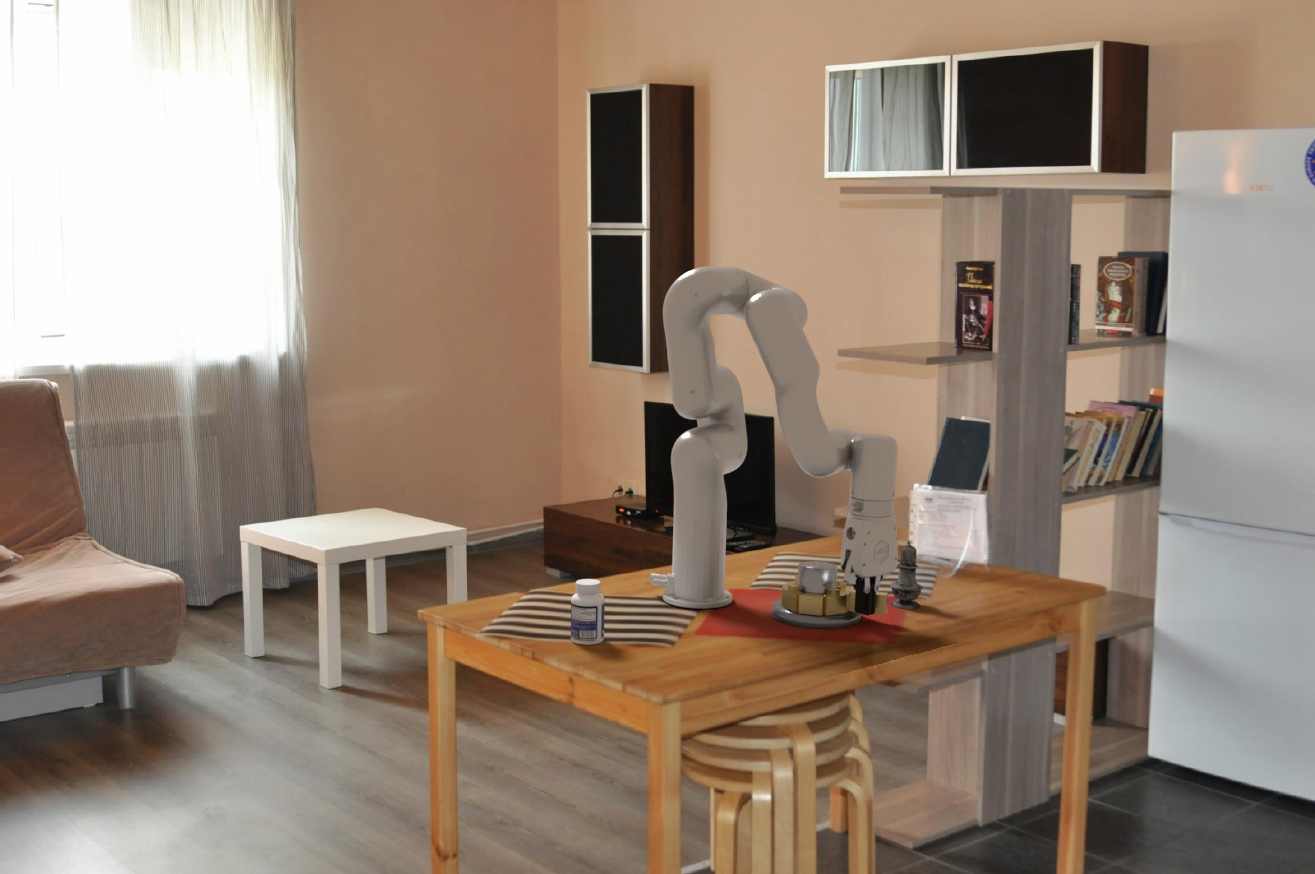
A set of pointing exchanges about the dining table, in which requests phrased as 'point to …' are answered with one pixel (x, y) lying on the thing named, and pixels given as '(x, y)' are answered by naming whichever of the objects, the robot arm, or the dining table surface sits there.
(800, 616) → the spindle base
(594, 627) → the pill bottle
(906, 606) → the salt shaker
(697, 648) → the dining table surface
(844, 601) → the ring nut
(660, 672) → the dining table surface
